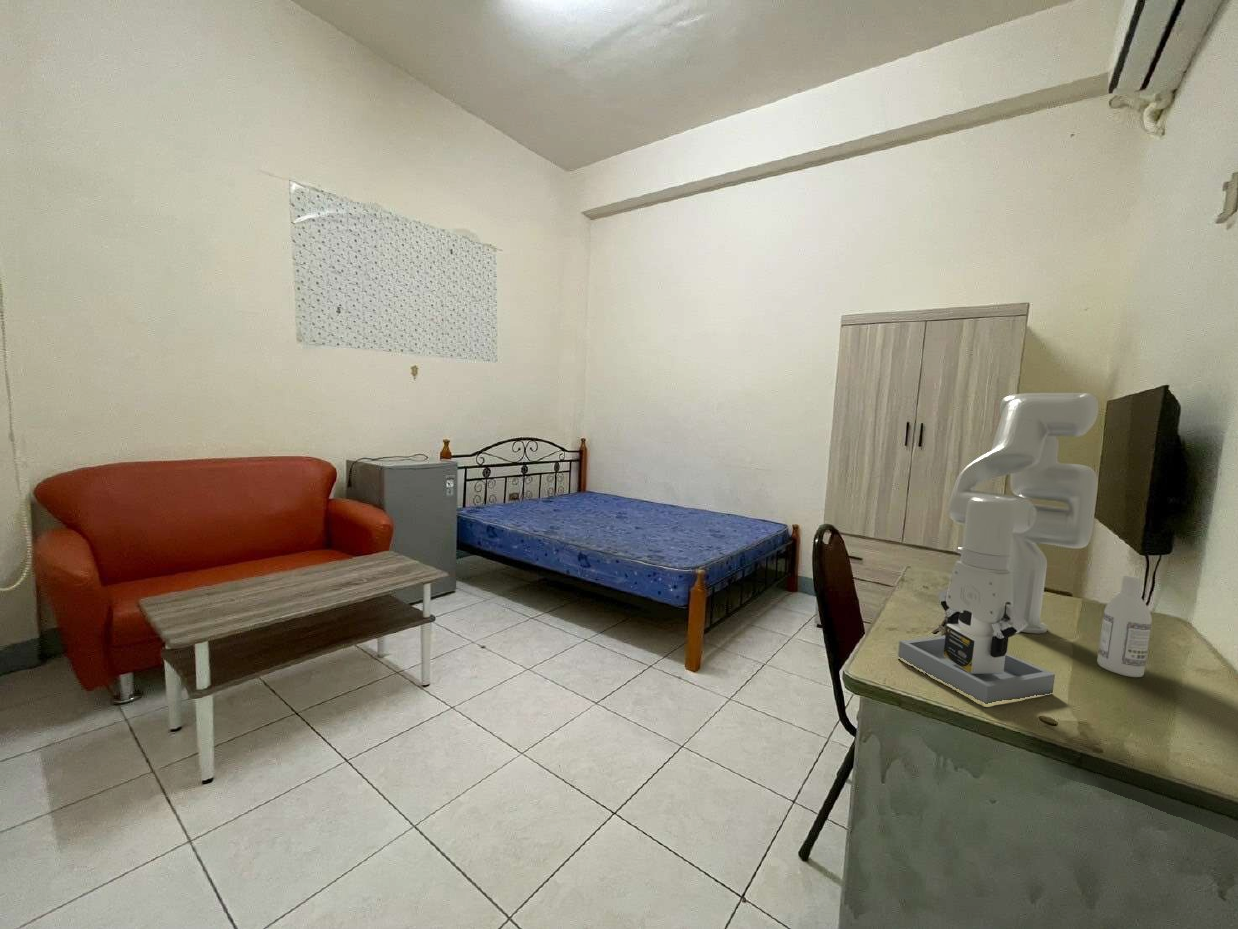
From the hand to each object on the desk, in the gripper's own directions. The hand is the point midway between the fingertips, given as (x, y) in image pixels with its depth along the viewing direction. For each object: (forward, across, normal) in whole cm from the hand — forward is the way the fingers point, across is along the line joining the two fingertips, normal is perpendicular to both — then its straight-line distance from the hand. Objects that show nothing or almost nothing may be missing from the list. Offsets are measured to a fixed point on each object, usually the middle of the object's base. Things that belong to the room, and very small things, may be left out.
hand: (974, 645), depth 96 cm
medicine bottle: (+4, 0, 0) cm, 4 cm away
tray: (+6, 0, 0) cm, 6 cm away
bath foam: (+7, +6, +36) cm, 37 cm away
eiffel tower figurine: (+7, -13, +11) cm, 19 cm away
